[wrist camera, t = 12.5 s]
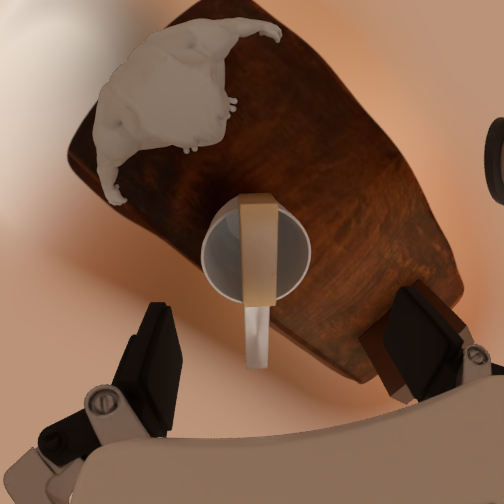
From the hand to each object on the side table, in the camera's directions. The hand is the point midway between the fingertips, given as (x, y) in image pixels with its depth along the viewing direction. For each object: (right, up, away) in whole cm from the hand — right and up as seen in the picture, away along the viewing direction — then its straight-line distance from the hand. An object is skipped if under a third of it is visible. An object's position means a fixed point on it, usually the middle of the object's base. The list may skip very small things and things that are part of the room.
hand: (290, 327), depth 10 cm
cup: (-2, +7, +19) cm, 20 cm away
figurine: (-6, +16, +14) cm, 23 cm away
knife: (-1, 0, +11) cm, 11 cm away
